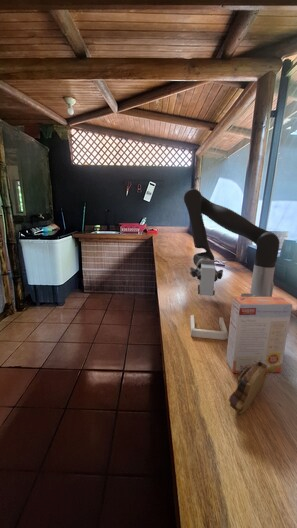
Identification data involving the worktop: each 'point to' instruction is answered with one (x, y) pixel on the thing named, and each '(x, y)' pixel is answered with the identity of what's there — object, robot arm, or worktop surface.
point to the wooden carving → (248, 386)
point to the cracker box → (258, 332)
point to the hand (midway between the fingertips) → (207, 278)
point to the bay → (209, 331)
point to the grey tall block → (207, 278)
